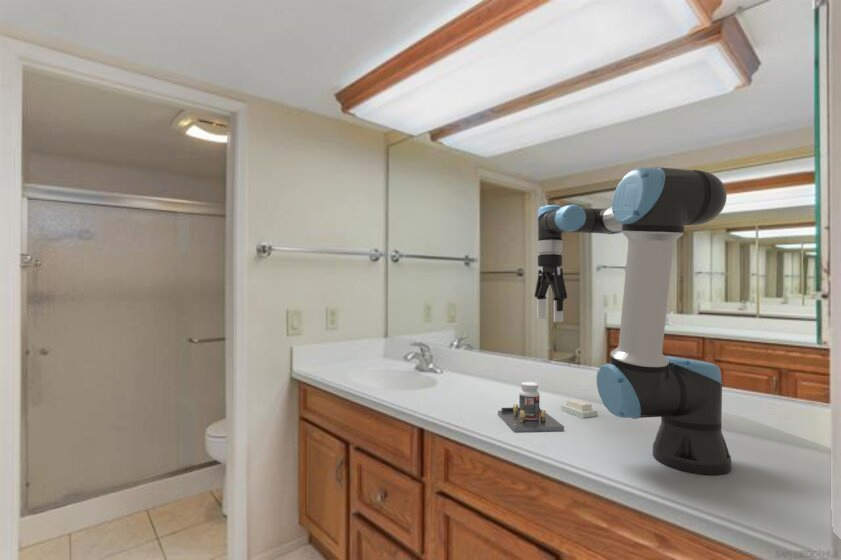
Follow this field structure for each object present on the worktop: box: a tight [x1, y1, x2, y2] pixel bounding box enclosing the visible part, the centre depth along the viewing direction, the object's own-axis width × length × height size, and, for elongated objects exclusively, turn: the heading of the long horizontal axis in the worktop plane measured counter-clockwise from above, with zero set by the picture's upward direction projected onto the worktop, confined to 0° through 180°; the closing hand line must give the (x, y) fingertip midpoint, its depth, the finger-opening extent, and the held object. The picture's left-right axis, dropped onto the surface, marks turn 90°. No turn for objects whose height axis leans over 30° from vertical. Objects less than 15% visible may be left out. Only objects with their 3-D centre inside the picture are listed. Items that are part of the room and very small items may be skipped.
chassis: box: [497, 404, 565, 433], centre depth 125 cm, size 16×14×4 cm
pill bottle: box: [518, 381, 540, 420], centre depth 125 cm, size 6×6×10 cm
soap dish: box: [560, 398, 598, 419], centre depth 135 cm, size 9×6×3 cm, turn 26°
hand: (549, 320), depth 138 cm, fingers open, 13 cm apart
